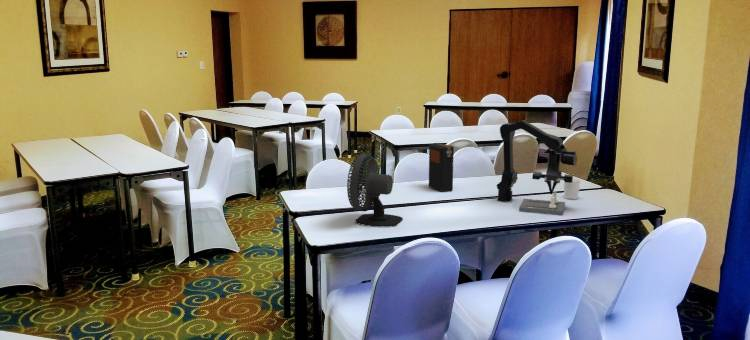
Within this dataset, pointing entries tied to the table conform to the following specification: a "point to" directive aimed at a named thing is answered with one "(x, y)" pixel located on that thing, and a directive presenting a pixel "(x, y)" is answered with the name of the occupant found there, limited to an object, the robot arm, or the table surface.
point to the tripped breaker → (555, 196)
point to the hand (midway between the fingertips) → (551, 194)
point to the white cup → (571, 189)
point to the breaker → (552, 202)
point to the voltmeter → (441, 166)
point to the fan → (370, 191)
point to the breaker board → (541, 207)
